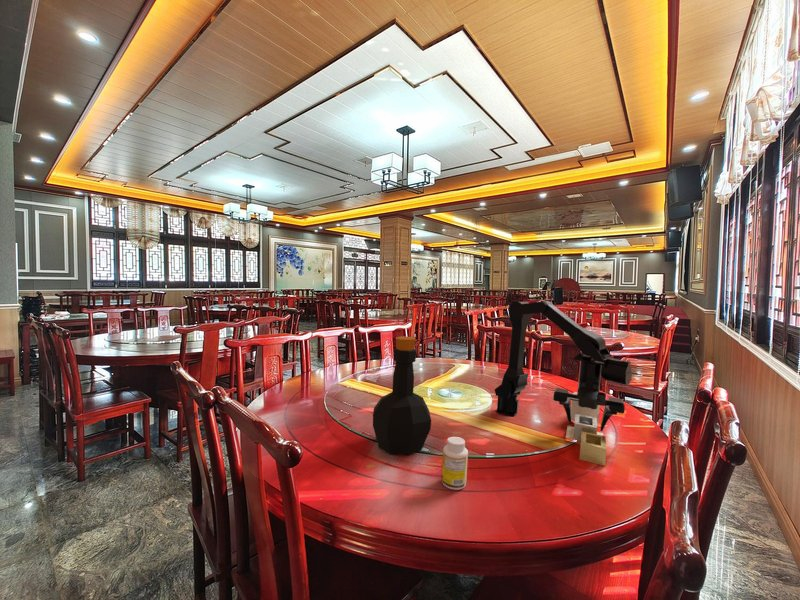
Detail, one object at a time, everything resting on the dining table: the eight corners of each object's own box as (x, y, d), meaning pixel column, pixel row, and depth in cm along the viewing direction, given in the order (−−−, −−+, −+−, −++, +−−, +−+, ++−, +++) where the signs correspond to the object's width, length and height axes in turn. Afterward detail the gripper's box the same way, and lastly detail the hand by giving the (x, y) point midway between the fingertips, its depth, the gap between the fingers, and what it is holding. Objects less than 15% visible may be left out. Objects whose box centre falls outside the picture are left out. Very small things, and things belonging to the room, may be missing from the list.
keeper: (565, 440, 108) (566, 423, 108) (567, 429, 117) (568, 413, 117) (603, 449, 104) (605, 431, 103) (602, 436, 113) (604, 420, 112)
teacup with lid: (604, 428, 119) (607, 394, 118) (576, 427, 119) (579, 392, 118) (586, 415, 131) (589, 383, 130) (561, 413, 131) (563, 381, 130)
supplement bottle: (449, 474, 86) (452, 432, 86) (470, 484, 83) (473, 440, 82) (436, 484, 82) (439, 440, 82) (457, 494, 79) (460, 448, 78)
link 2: (605, 465, 94) (606, 449, 94) (579, 459, 97) (580, 443, 97) (603, 451, 102) (605, 436, 102) (580, 446, 105) (581, 431, 105)
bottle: (363, 436, 105) (368, 333, 103) (416, 430, 110) (421, 332, 109) (380, 463, 90) (386, 343, 88) (439, 455, 96) (446, 342, 94)
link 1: (596, 443, 105) (597, 428, 105) (573, 438, 108) (574, 423, 107) (595, 432, 113) (596, 418, 113) (574, 427, 116) (575, 413, 115)
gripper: (553, 377, 106) (549, 429, 107) (628, 389, 98) (623, 446, 99) (556, 369, 116) (553, 417, 117) (625, 380, 108) (620, 431, 109)
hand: (585, 427), depth 110 cm, fingers open, 8 cm apart
